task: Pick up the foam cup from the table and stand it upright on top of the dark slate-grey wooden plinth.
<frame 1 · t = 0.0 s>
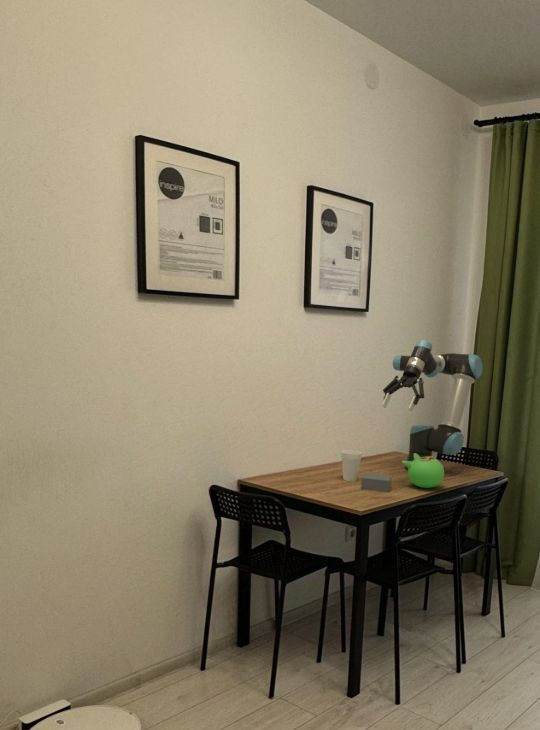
hand: (396, 408, 278), 36 cm above the table, tool tilted 35°, fingers open, 13 cm apart
toy bird: (423, 487, 285), on the table
base plinth: (376, 487, 279), on the table
foam cup: (349, 480, 292), on the table
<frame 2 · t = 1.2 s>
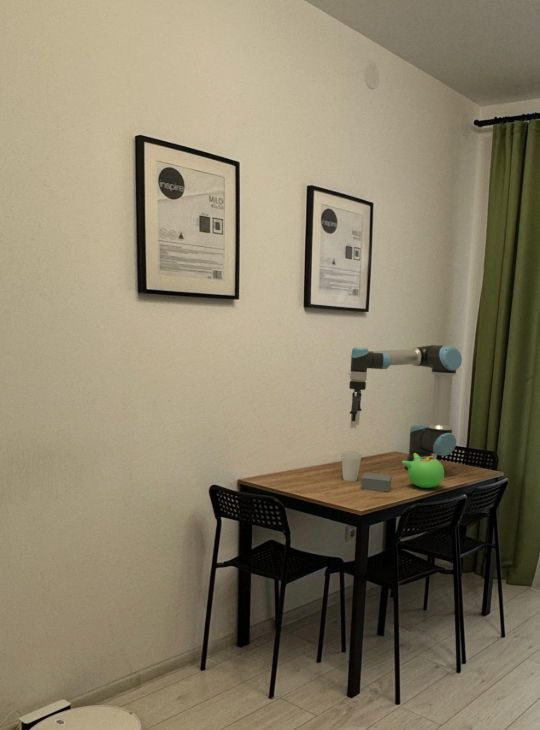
hand: (354, 426, 290), 25 cm above the table, tool pointing down, fingers open, 13 cm apart
nothing on the table moved.
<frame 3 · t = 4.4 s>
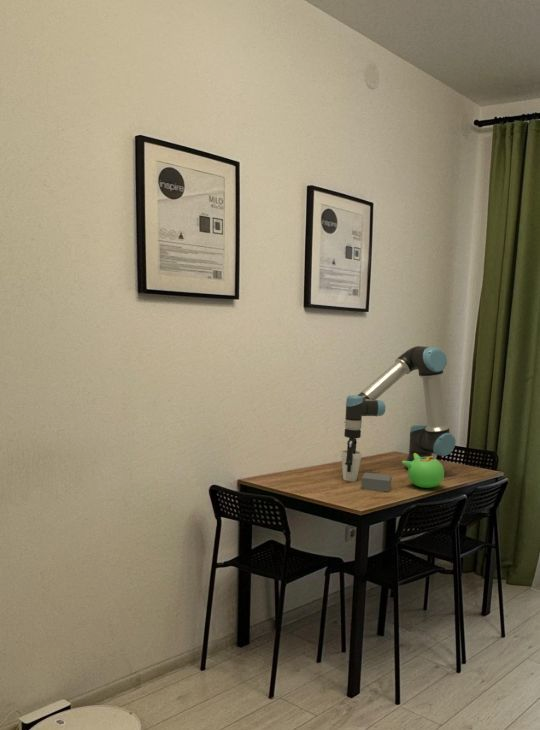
hand: (350, 476, 292), 2 cm above the table, tool pointing down, fingers closed on foam cup, 9 cm apart
foam cup: (349, 480, 292), on the table, touching gripper
everything else where it was.
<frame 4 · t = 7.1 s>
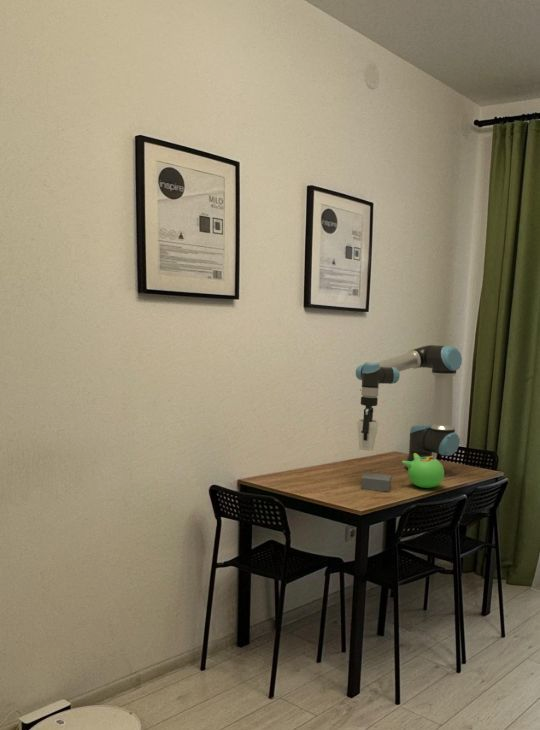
hand: (366, 445, 284), 18 cm above the table, tool pointing down, fingers closed on foam cup, 9 cm apart
foam cup: (366, 449, 284), point 16 cm above the table, touching gripper
everything else where it was.
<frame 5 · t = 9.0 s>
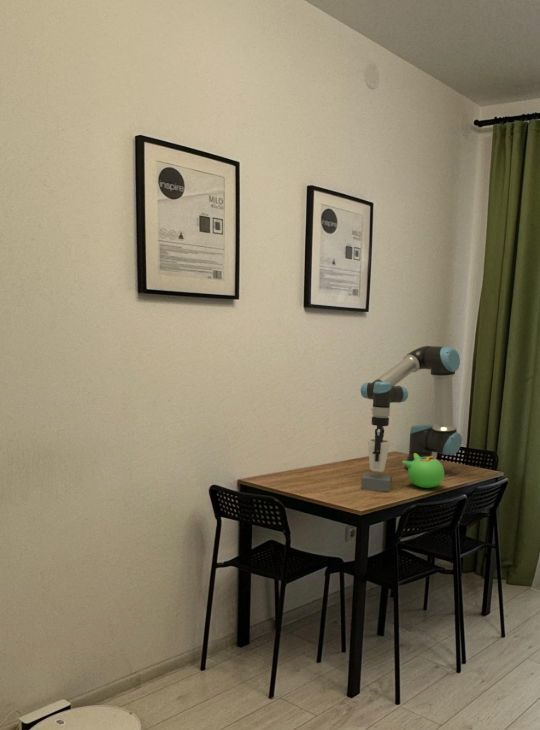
hand: (377, 466, 278), 10 cm above the table, tool pointing down, fingers closed on foam cup, 9 cm apart
foam cup: (377, 470, 278), point 8 cm above the table, touching gripper
everything else where it was.
when the fingers open (8 cm above the table, at t = 10.2 s): foam cup drops 1 cm, resting on base plinth.
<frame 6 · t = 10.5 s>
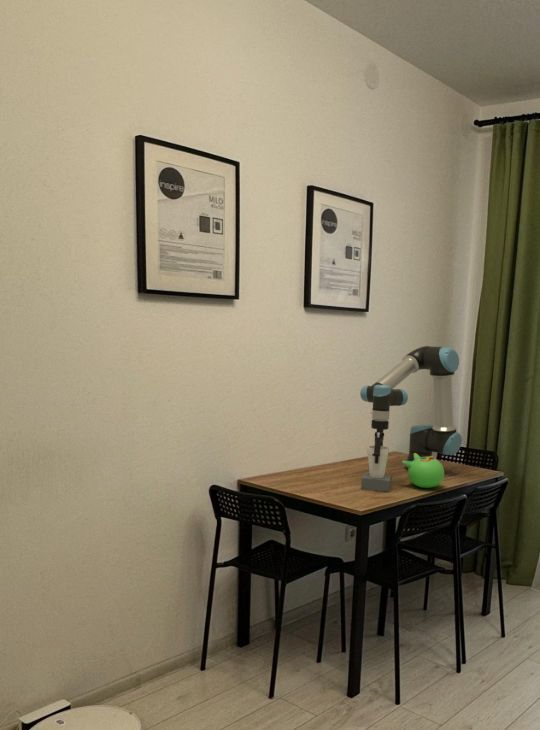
hand: (377, 467, 278), 9 cm above the table, tool pointing down, fingers open, 12 cm apart
foam cup: (376, 476, 279), point 5 cm above the table, touching base plinth
everything else where it was.
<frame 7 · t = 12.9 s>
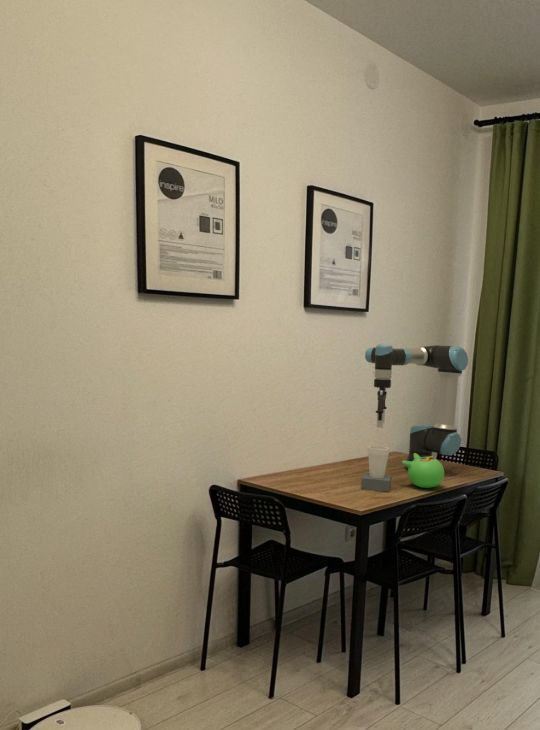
hand: (380, 425, 283), 27 cm above the table, tool pointing down, fingers open, 13 cm apart
nothing on the table moved.
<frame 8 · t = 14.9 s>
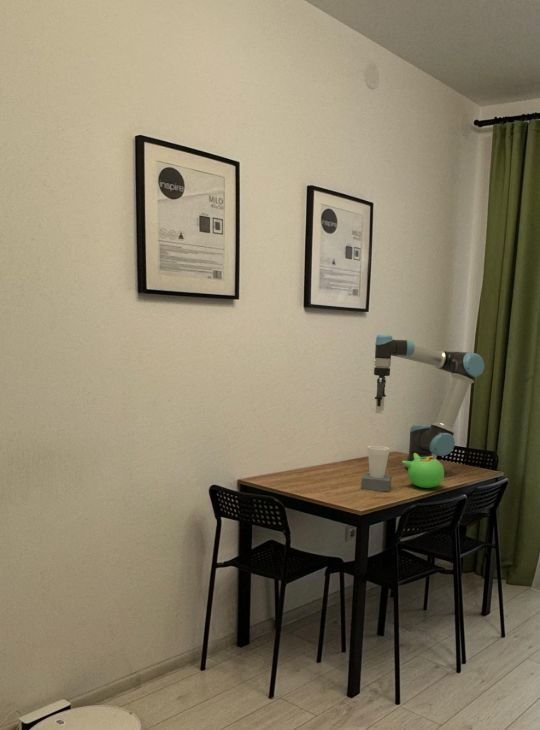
hand: (379, 411, 298), 32 cm above the table, tool pointing down, fingers open, 13 cm apart
nothing on the table moved.
at the end: foam cup inside the target area on the base plinth (0.1 cm from its centre), point 4.8 cm above the base plinth's base; foam cup tilted 0°; the gripper is holding nothing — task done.
